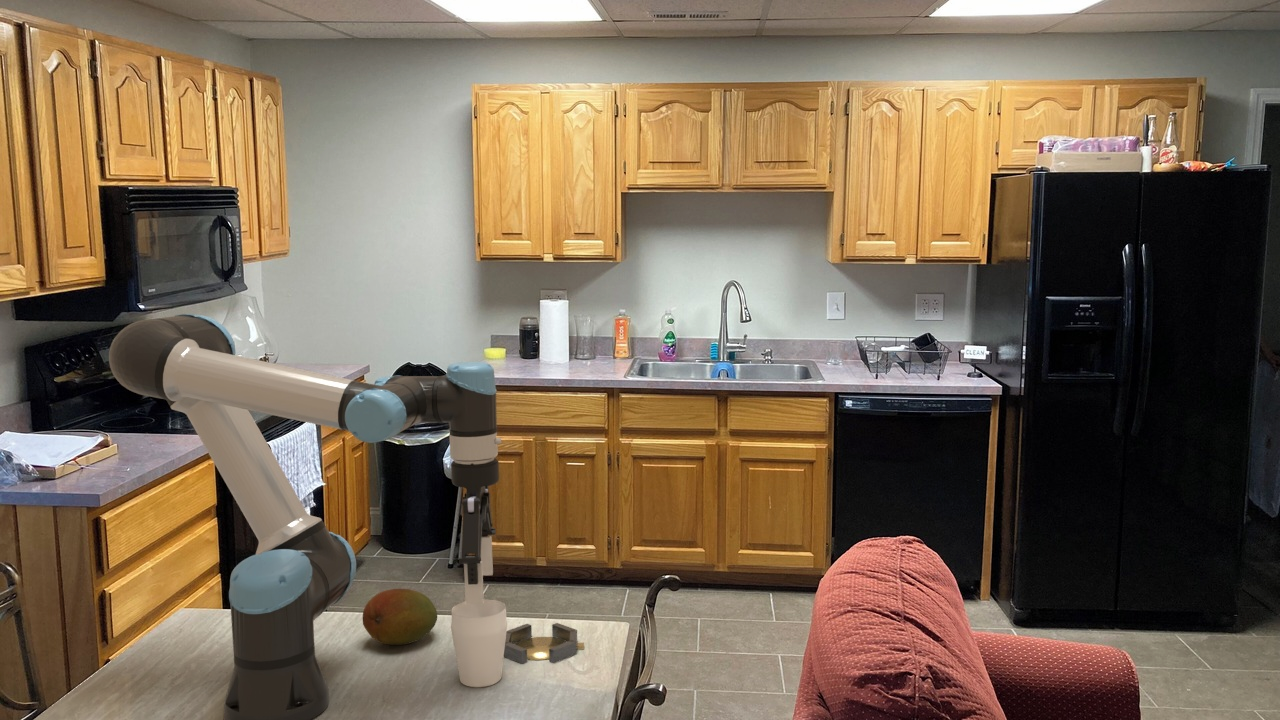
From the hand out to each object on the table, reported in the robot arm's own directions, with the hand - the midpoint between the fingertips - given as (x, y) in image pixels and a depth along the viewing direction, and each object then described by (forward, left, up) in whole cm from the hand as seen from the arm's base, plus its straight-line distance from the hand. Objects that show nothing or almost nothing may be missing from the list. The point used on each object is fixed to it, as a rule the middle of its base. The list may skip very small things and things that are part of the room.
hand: (479, 588), depth 164 cm
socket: (+9, +12, -15) cm, 21 cm away
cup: (0, 0, -16) cm, 16 cm away
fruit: (-16, +17, -16) cm, 28 cm away
